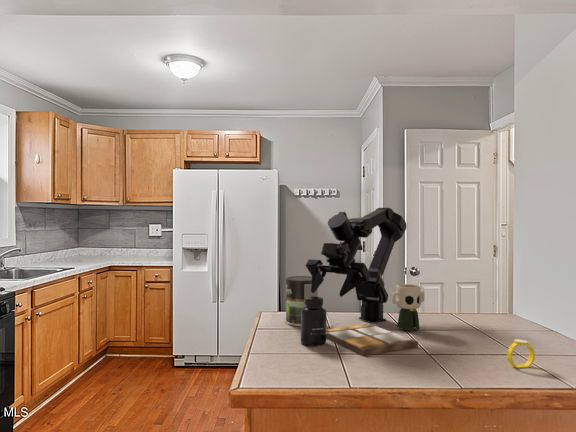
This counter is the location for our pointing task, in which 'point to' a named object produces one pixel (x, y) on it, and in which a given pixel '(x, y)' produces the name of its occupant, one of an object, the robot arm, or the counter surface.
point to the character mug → (408, 305)
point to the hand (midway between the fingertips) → (325, 293)
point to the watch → (511, 349)
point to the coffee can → (297, 297)
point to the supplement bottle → (313, 322)
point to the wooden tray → (369, 339)
